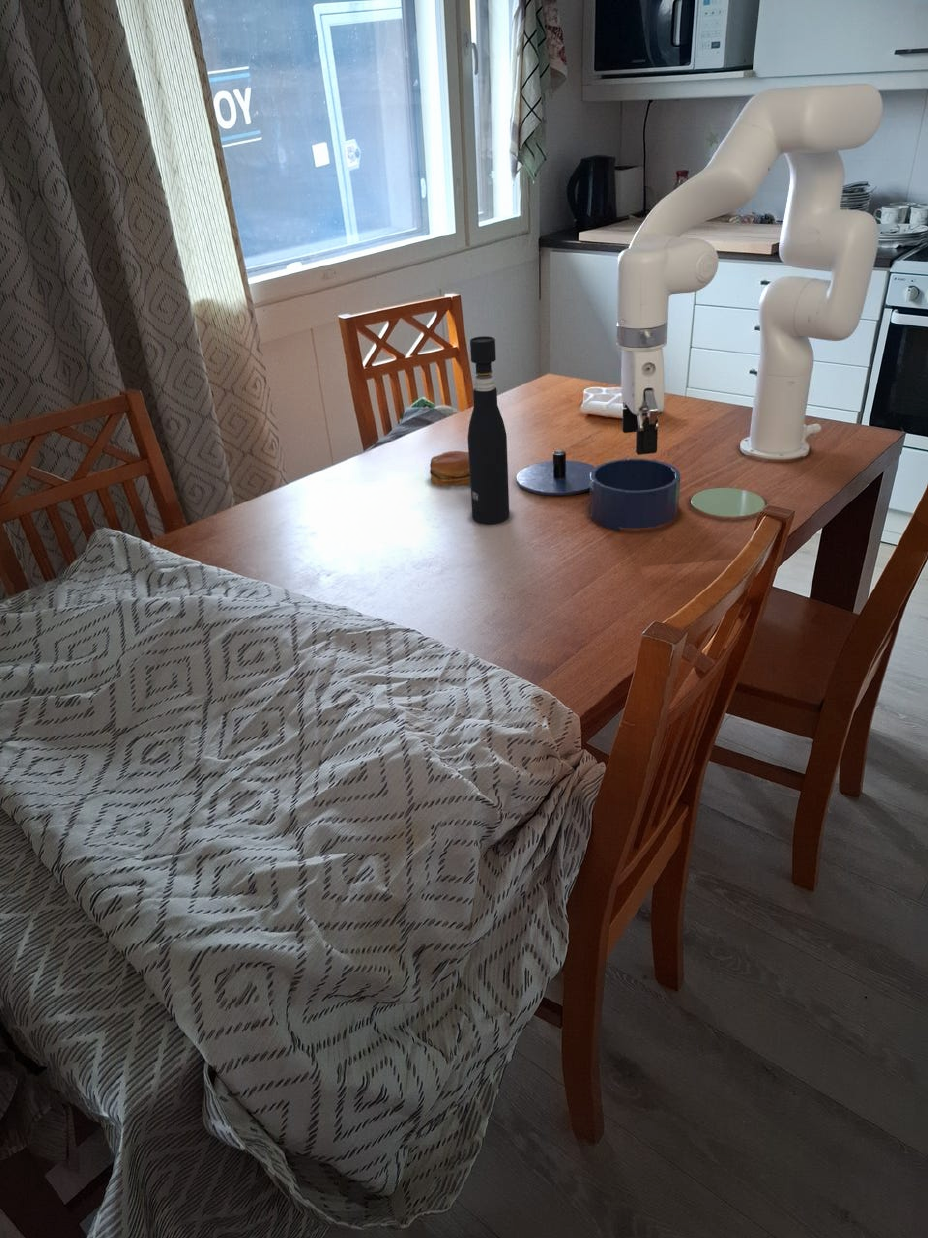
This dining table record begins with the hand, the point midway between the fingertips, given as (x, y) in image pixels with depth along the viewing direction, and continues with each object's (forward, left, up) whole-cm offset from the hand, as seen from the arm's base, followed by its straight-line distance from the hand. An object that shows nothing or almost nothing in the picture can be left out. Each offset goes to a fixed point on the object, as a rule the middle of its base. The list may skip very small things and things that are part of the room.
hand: (639, 442), depth 139 cm
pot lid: (+4, -19, -12) cm, 23 cm away
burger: (+20, -31, -13) cm, 39 cm away
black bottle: (+22, -12, -13) cm, 28 cm away
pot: (+1, 0, -12) cm, 12 cm away
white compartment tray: (-28, -47, -13) cm, 56 cm away
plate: (-14, +6, -12) cm, 20 cm away
